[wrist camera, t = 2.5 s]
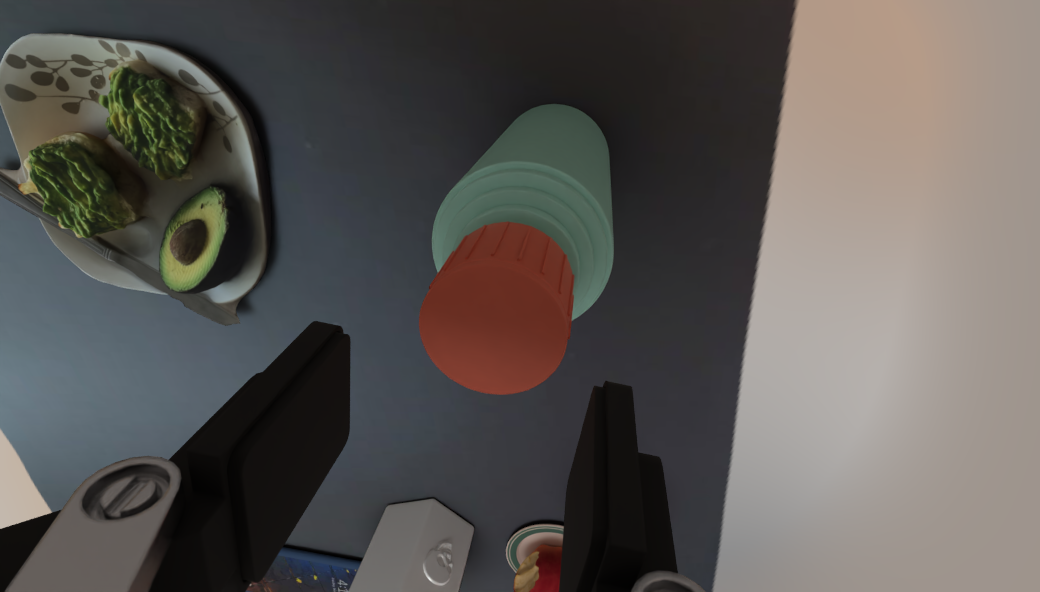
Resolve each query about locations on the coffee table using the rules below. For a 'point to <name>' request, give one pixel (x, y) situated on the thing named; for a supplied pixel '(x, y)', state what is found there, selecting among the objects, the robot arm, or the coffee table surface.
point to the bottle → (541, 194)
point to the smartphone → (307, 573)
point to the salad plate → (139, 167)
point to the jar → (416, 550)
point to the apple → (536, 557)
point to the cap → (500, 309)
